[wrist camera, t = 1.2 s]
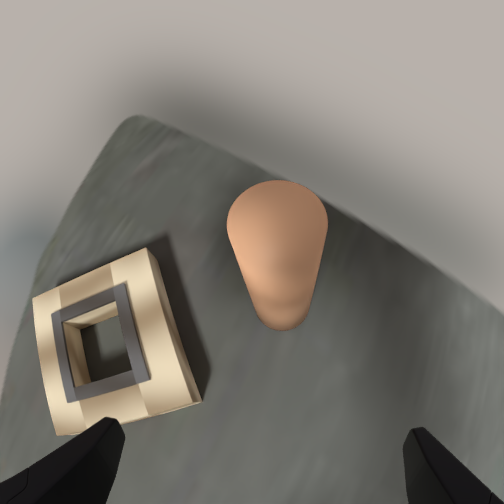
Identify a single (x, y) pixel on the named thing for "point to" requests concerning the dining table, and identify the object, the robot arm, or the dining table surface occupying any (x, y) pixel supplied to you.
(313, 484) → the dining table surface
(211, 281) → the dining table surface
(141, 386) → the socket block
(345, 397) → the dining table surface
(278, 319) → the peg
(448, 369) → the dining table surface
